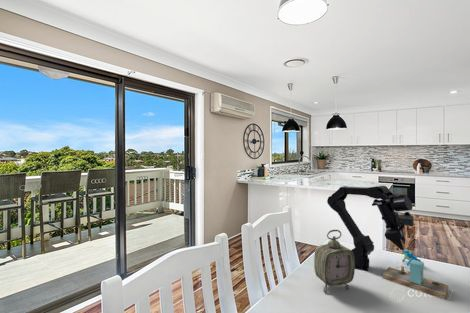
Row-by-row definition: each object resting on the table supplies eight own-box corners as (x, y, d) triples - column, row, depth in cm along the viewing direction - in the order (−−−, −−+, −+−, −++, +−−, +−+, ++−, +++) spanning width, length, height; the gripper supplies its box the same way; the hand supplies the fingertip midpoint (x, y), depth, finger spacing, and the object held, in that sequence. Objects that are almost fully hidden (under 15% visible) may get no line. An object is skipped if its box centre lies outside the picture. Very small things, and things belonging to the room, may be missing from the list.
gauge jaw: (409, 281, 107) (409, 262, 107) (413, 275, 113) (413, 257, 112) (420, 284, 105) (421, 266, 104) (424, 278, 110) (424, 260, 109)
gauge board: (382, 278, 114) (382, 267, 114) (389, 270, 121) (389, 260, 121) (445, 299, 99) (445, 287, 98) (448, 289, 106) (448, 278, 105)
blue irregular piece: (429, 267, 122) (413, 251, 123) (421, 276, 122) (405, 260, 123) (414, 260, 133) (400, 246, 134) (406, 268, 133) (392, 254, 134)
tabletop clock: (324, 296, 100) (325, 234, 99) (311, 284, 109) (312, 227, 108) (354, 290, 104) (356, 231, 103) (339, 279, 113) (341, 224, 112)
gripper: (406, 215, 102) (424, 252, 101) (408, 202, 117) (424, 233, 115) (377, 221, 109) (393, 255, 107) (383, 207, 124) (397, 237, 122)
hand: (403, 245), depth 113 cm, fingers open, 9 cm apart
